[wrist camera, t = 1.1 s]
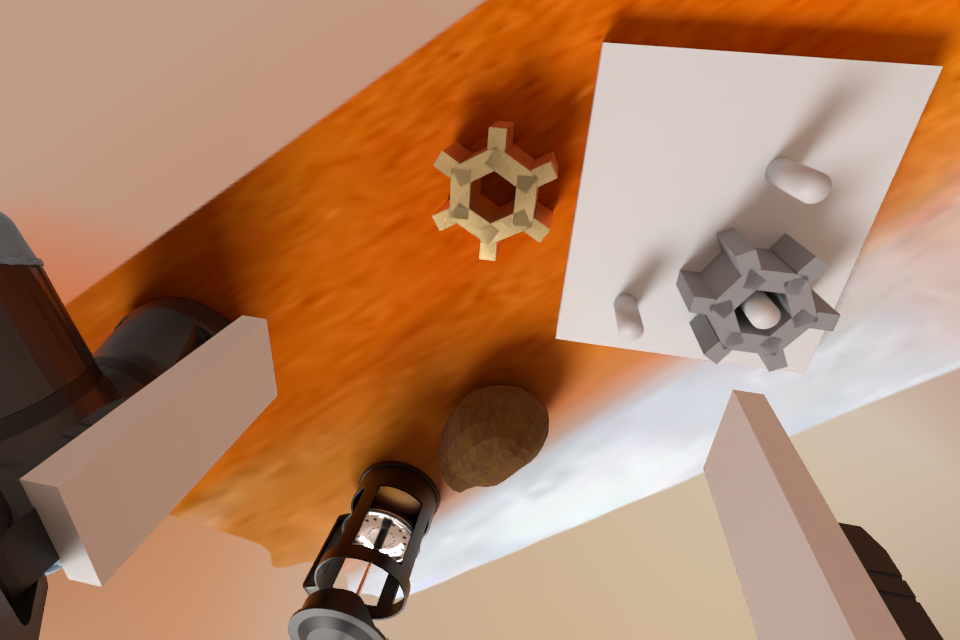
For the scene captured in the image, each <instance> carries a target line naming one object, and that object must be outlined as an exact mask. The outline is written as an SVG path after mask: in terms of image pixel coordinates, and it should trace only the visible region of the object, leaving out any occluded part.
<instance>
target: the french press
mask: <svg viewBox="0 0 960 640" xmlns="http://www.w3.org/2000/svg"><path fill="white" fill-rule="evenodd" d="M380 486H388V487H393V488H397V489H399V490H402V491H404V492H406V493H408V494H410V495H411V496H413V497H414V498H415V499H417V501H418V502H419V503H420V504H421V508H420V511H419V513H418V514H417V515H414V516H402V515H400V514H398V513H396V512H394V511H392V510H389V509H386V508H382V507H380V506H379V505H378V504H377V503H376V502H375V501H374V498H375V496H376V494H377V492H378V490H379V488H380ZM439 500H440V499H439V492H438V490H437V487H436V486H435V484H434V483H433V481H432V480H431V479H430V478H429V477H428V476H427V475H426V474H425V473H423V472H422V471H421V470H419V469H417V468H415V467H414V466H411V465H408V464H406V463H401V462H394V461H387V462H380V463H377V464H374V465H373V466H371V467H369V468H368V469H367V470H366V471H365V472H364V474H363V475H362V477H361V480H360V483H359V487H358V489H357V491H356V493H355V495H354V497H353V499H352V502H351V511H352V513H349V514H343V515H340V516H339V517H338V518H337V520H336V522H335V524H334V526H333V528H332V530H331V532H330V533H329V535H328V537H327V539H326V541H325V543H324V545H323V547H322V549H321V551H320V552H319V554H318V556H317V558H316V560H315V562H314V564H313V566H312V568H311V570H310V572H309V573H308V575H307V577H306V579H305V581H304V583H303V588H304V589H305V591H306V592H307V593H308V594H309V596H308V598H307V599H306V601H305V603H304V605H303V607H302V609H300V610H298V611H297V612H295V613H294V614H293V616H292V617H291V619H290V621H289V624H288V633H289V636H290V639H291V640H389V639H388V638H385V637H384V635H383V634H382V633H381V632H380V631H379V630H378V629H377V628H376V627H375V625H374V623H373V621H372V620H384V619H389V618H392V617H395V616H396V615H398V614H399V613H400V612H401V611H402V610H403V609H404V607H405V604H406V601H407V598H408V595H409V592H410V581H409V578H410V575H411V572H412V569H413V565H414V562H415V559H416V557H417V556H418V554H419V552H420V544H421V541H422V538H423V537H424V536H425V535H426V534H427V533H428V531H429V528H430V525H431V522H432V519H433V516H434V514H435V513H436V511H437V509H438V506H439ZM346 558H354V559H359V560H363V561H367V562H369V564H368V566H367V568H366V571H365V573H364V576H363V578H362V580H361V583H360V585H359V588H358V590H357V592H356V594H355V593H354V592H352V591H348V590H344V589H336V588H333V587H332V586H333V584H334V582H335V580H336V578H337V576H338V573H339V571H340V569H341V567H342V565H343V563H344V561H345V559H346ZM372 564H374V565H376V566H378V567H380V568H382V569H383V570H385V571H386V572H388V573H389V574H388V576H387V579H386V582H385V585H384V587H383V590H382V593H381V595H380V598H379V601H378V604H377V606H371V605H366V604H364V602H363V600H362V599H361V597H360V596H359V595H360V593H361V591H362V588H363V586H364V583H365V581H366V578H367V576H368V573H369V571H370V569H371V566H372ZM399 585H400V586H401V588H402V590H403V594H404V598H403V599H402V600H401V601H399V602H398V603H395V604H393V602H394V600H395V597H396V594H397V591H398V588H399Z"/></svg>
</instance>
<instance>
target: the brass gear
mask: <svg viewBox="0 0 960 640" xmlns="http://www.w3.org/2000/svg"><path fill="white" fill-rule="evenodd" d="M514 126H515V122H512V121H501V120H499V121H497V122H496V123H494V124H493V125H491V126H490V127H489V131H488V145H487V147H484V148H482V149H480V150H478V151H476V152H474V153H472V152H471V151H470V150H468V149H467V148H466V147H464V146H463V145H461V144H460V143H459V142H456V143H454V144H452V145H451V146H449V147H447V148H446V149H444V150H443V151H442V152H441V153H440V155H439V157H438V158H437V160H436V162H435V163H434V165H433V166H434V167H436V168H437V169H439V170H440V171H441V172H443V173H444V174H445V175H447V176H448V177H451V187H450V199H449V200H447V201H446V202H445V203H444V204H443V205H442V206H441V207H440V208H439V209H438V210H437V211H436V212H435V214H434V215H433V216H432V217H433V219H434V221H435V223H436V225H437V227H438V229H439V231H441V230H443V229H445V228H447V227H450V226H452V225H454V224H456V223H458V224H459V225H461V226H462V227H463V228H465V229H466V230H468V231H469V232H470V233H472V234H473V235H475V236H476V237H477V238H479V239H480V240H481V242H480V256H479V259H483V260H491V261H495V260H496V258H497V255H498V253H499V251H500V248H501V246H502V243H503V241H504V239H505V238H507V237H510V236H512V235H514V234H517V233H519V232H521V231H524V232H525V233H527V234H528V235H530V236H531V237H532V238H534V239H535V240H536V241H538V242H539V243H540V242H541V241H542V239H543V238H544V237H545V236H546V234H547V233H548V232H549V231H550V227H551V220H552V214H553V212H552V211H551V210H549V209H548V208H547V207H545V206H544V205H543V204H541V203H540V202H538V195H539V187H540V186H541V185H544V184H546V183H548V182H550V181H553V180H555V179H557V177H558V170H559V164H558V162H557V159H556V157H555V154H554V152H553V151H552V152H549V153H547V154H545V155H543V156H541V157H539V158H537V159H536V160H535V159H534V158H533V157H531V156H530V155H529V154H527V153H526V152H525V151H523V150H522V149H521V148H519V147H518V146H517V145H515V144H514V143H513V136H514ZM493 171H495V172H497V173H498V174H499V175H501V176H502V177H503V178H505V179H506V180H507V181H509V182H510V183H511V184H513V185H514V186H516V195H515V200H514V201H511V202H509V203H507V204H505V205H502V206H500V207H499V206H498V205H496V204H495V203H493V202H492V201H491V200H489V199H488V198H487V197H485V196H484V195H482V194H481V180H482V177H483V176H485V175H487V174H489V173H491V172H493Z"/></svg>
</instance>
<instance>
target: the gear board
mask: <svg viewBox="0 0 960 640" xmlns="http://www.w3.org/2000/svg"><path fill="white" fill-rule="evenodd" d="M942 67H943V66H931V65H917V64H902V63H888V62H874V61H860V60H846V59H832V58H817V57H803V56H789V55H775V54H761V53H747V52H732V51H718V50H704V49H690V48H676V47H662V46H647V45H633V44H619V43H605V42H603V43H602V46H601V52H600V58H599V64H598V71H597V77H596V83H595V89H594V96H593V102H592V108H591V114H590V121H589V127H588V133H587V139H586V146H585V152H584V158H583V164H582V171H581V177H580V183H579V189H578V196H577V202H576V208H575V214H574V221H573V227H572V233H571V239H570V246H569V252H568V258H567V264H566V271H565V277H564V283H563V289H562V296H561V302H560V308H559V314H558V321H557V327H556V339H562V340H569V341H576V342H583V343H590V344H597V345H604V346H611V347H618V348H625V349H632V350H639V351H646V352H653V353H660V354H667V355H675V356H682V357H689V358H696V359H703V360H710V361H713V362H714V363H716V364H717V363H718V362H724V363H731V364H738V365H745V366H752V367H759V368H766V369H768V370H769V371H773V370H780V371H787V372H795V373H802V374H805V373H806V371H807V369H808V367H809V364H810V362H811V360H812V358H813V356H814V353H815V351H816V349H817V347H818V344H819V342H820V340H821V338H822V335H823V333H824V331H825V330H827V331H833V330H834V328H835V326H836V324H837V322H838V319H839V317H840V314H839V313H838V312H836V311H835V310H834V309H835V306H836V304H837V302H838V300H839V297H840V295H841V293H842V291H843V289H844V286H845V284H846V282H847V280H848V277H849V275H850V273H851V271H852V268H853V266H854V264H855V262H856V260H857V257H858V255H859V253H860V251H861V248H862V246H863V244H864V242H865V239H866V237H867V235H868V233H869V230H870V228H871V226H872V224H873V222H874V219H875V217H876V215H877V213H878V210H879V208H880V206H881V204H882V201H883V199H884V197H885V195H886V193H887V190H888V188H889V186H890V184H891V181H892V179H893V177H894V175H895V172H896V170H897V168H898V166H899V163H900V161H901V159H902V157H903V155H904V152H905V150H906V148H907V146H908V143H909V141H910V139H911V137H912V134H913V132H914V130H915V128H916V126H917V123H918V121H919V119H920V117H921V114H922V112H923V110H924V108H925V105H926V103H927V101H928V99H929V97H930V94H931V92H932V90H933V88H934V85H935V83H936V81H937V79H938V76H939V74H940V72H941V70H942Z"/></svg>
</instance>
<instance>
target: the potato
mask: <svg viewBox="0 0 960 640" xmlns="http://www.w3.org/2000/svg"><path fill="white" fill-rule="evenodd" d="M548 429H549V417H548V411H547V410H546V408H545V407H544V406H543V405H542V404H541V403H540V402H539V400H538V399H537V398H536V397H535V396H534V395H533V394H531V393H529V392H527V391H526V390H524V389H522V388H520V387H514V386H506V385H498V386H488V387H484V388H480V389H477V390H474V391H472V392H471V393H469V394H468V395H466V396H465V397H464V398H463V399H462V400H461V401H460V402H459V404H458V405H457V406H456V408H455V409H454V411H453V412H452V414H451V415H450V417H449V420H448V422H447V424H446V426H445V428H444V430H443V433H442V435H441V440H440V446H439V451H438V456H437V457H438V463H439V468H440V470H441V472H442V474H443V476H444V478H445V480H446V483H447V484H448V485H449V486H450V487H451V488H452V489H453V490H454V491H457V492H462V491H464V490H466V489H468V488H471V487H475V486H482V487H489V486H494V485H498V484H499V483H501V482H503V481H504V480H506V479H507V478H508V477H510V476H511V475H512V474H514V473H515V472H516V471H518V470H519V469H521V468H522V467H524V466H525V465H527V464H528V463H530V462H531V461H532V460H533V459H534V458H535V457H536V456H537V455H538V453H539V452H540V450H541V448H542V447H543V444H544V442H545V440H546V438H547V435H548Z"/></svg>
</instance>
